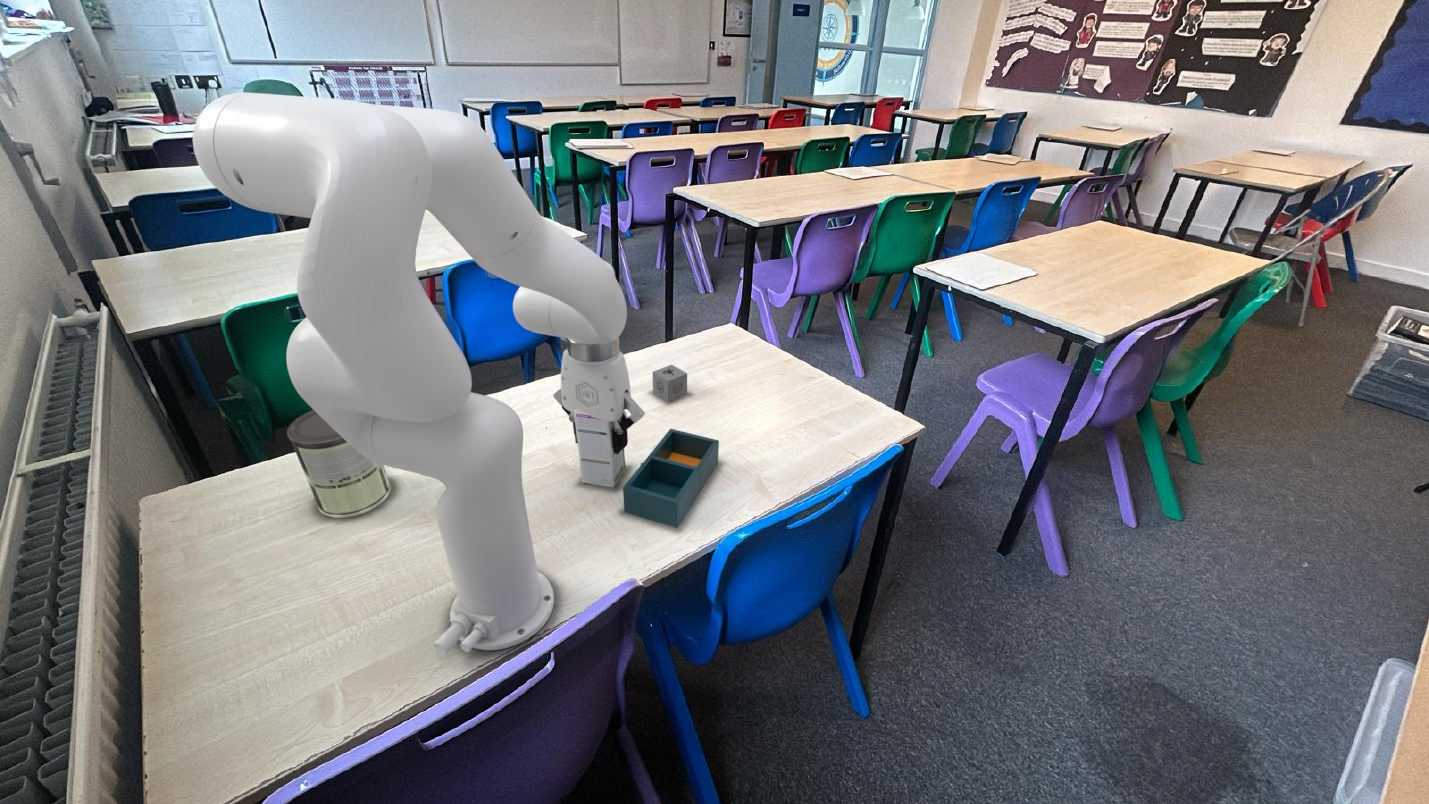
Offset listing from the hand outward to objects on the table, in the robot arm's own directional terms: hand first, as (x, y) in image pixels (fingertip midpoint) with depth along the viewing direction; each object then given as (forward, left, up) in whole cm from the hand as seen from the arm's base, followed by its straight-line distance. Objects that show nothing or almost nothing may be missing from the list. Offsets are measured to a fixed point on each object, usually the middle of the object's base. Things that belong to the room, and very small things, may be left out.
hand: (601, 443), depth 98 cm
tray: (+2, -12, -7) cm, 14 cm away
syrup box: (0, 0, -7) cm, 7 cm away
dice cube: (+29, +1, -7) cm, 30 cm away
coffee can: (-20, +33, -7) cm, 39 cm away
